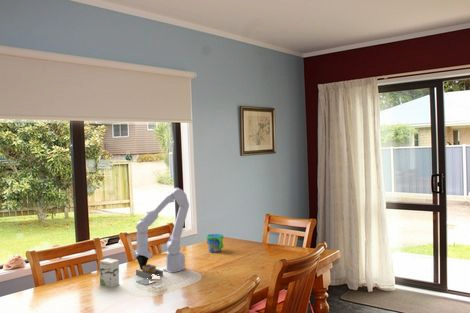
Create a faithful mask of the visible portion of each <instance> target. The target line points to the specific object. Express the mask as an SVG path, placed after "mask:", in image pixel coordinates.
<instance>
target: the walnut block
mask: <svg viewBox="0 0 470 313" xmlns="http://www.w3.org/2000/svg"><path fill="white" fill-rule="evenodd" d="M156 267H157V266H156V265H155V264H150V263H148V264H146V265H144V266H142V270H141V271H143V272H146V273H149V274H151V275H152V274H156V269H157V268H156Z"/></svg>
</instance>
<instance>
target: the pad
mask: <svg viewBox="0 0 470 313" xmlns="http://www.w3.org/2000/svg"><path fill="white" fill-rule="evenodd" d="M149 280H151V279H147V278H143V279H139V280H136V281H135V283H138V282H139V283H138V284H140V283H142V284H141V285H143V284H144V286H148V285H147V284H149ZM149 285H150V284H149Z"/></svg>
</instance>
